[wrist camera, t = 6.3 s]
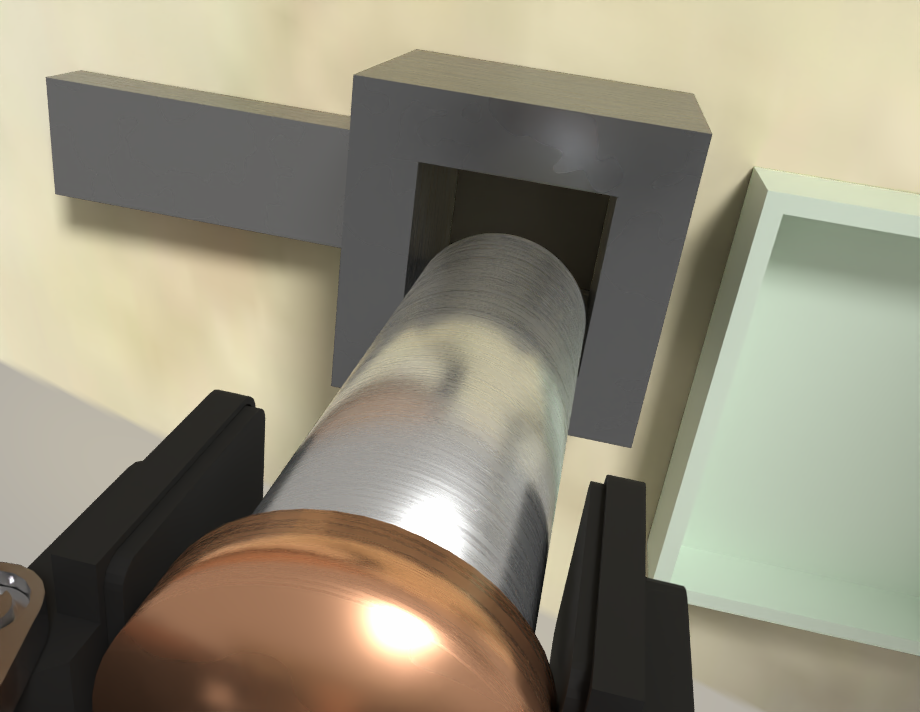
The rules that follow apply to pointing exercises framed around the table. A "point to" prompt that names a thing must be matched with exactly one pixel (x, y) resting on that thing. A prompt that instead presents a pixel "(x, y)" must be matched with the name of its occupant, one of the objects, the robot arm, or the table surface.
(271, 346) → the table surface
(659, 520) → the tray
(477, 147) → the hitch block
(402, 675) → the pin
